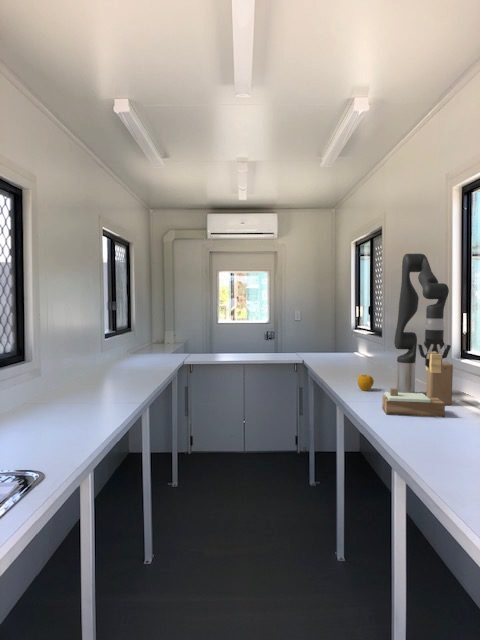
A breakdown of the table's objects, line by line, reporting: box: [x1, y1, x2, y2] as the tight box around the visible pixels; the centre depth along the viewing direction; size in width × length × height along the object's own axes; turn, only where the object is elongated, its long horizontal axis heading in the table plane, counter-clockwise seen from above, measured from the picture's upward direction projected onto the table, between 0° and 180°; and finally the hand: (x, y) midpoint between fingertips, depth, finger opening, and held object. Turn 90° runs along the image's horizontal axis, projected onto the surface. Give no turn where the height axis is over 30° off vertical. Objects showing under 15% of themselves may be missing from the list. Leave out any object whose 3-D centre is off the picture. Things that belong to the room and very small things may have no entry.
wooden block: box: [425, 361, 454, 406], centre depth 219 cm, size 10×10×20 cm
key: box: [425, 351, 441, 373], centre depth 198 cm, size 9×4×8 cm, turn 171°
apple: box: [357, 374, 375, 392], centre depth 249 cm, size 8×8×9 cm
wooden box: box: [381, 394, 446, 418], centre depth 200 cm, size 12×24×6 cm, turn 81°
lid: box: [384, 387, 430, 402], centre depth 201 cm, size 13×17×4 cm
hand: (433, 367), depth 198 cm, fingers closed on key, 4 cm apart
